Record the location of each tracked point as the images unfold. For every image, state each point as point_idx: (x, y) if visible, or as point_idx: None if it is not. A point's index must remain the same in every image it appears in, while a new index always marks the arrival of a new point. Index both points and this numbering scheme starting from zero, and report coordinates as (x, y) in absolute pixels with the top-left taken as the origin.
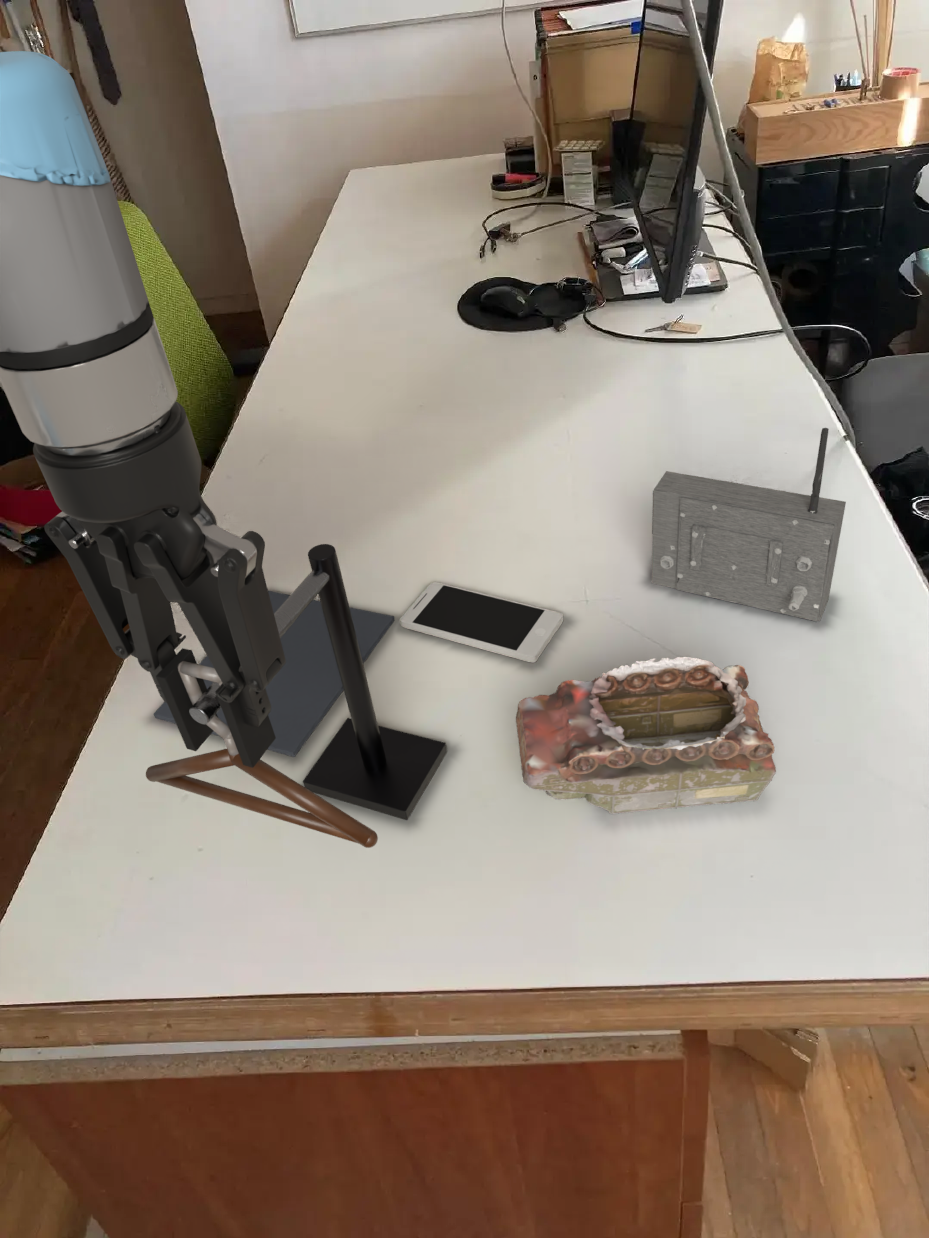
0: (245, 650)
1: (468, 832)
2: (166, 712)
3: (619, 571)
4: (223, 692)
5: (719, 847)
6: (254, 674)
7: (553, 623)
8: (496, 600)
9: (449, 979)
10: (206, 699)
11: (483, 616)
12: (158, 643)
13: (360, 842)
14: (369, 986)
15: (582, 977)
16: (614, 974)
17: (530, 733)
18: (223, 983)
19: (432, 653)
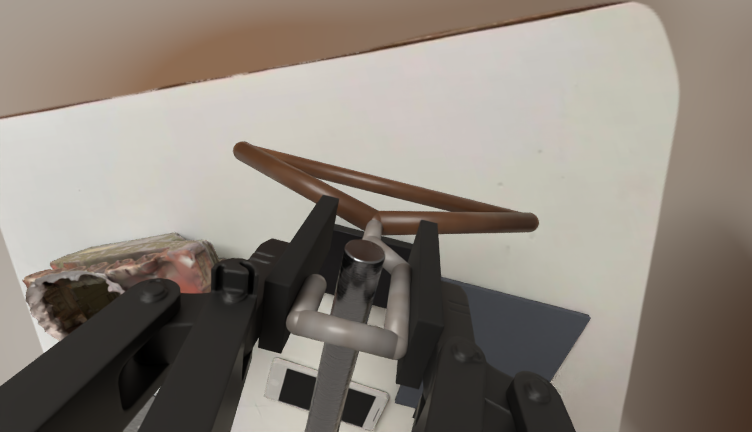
0: (47, 377)
1: (276, 213)
2: (577, 319)
3: (242, 427)
4: (241, 278)
5: (105, 211)
6: (117, 312)
7: (268, 389)
8: None
9: (247, 83)
10: (351, 281)
11: None
12: (424, 407)
13: (246, 143)
14: (307, 68)
15: (155, 98)
16: (135, 103)
17: (197, 288)
18: (435, 53)
19: (355, 368)
